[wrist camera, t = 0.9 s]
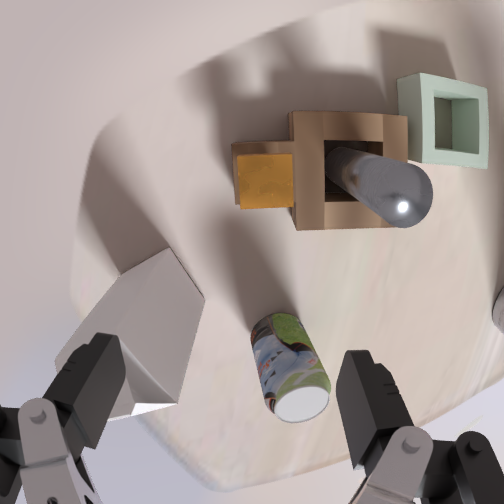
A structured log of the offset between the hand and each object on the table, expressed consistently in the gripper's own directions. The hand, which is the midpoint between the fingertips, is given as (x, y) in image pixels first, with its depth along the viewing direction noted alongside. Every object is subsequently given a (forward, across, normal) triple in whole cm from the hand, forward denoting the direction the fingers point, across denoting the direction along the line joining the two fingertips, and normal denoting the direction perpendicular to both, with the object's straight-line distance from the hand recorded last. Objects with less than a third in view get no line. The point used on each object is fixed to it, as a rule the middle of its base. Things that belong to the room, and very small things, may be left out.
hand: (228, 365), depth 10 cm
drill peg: (+22, -9, -5) cm, 24 cm away
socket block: (+21, -6, -5) cm, 23 cm away
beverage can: (+22, -5, +14) cm, 26 cm away
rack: (+21, -18, -11) cm, 30 cm away
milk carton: (+22, +9, +9) cm, 25 cm away
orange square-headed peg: (+19, -1, -4) cm, 19 cm away
